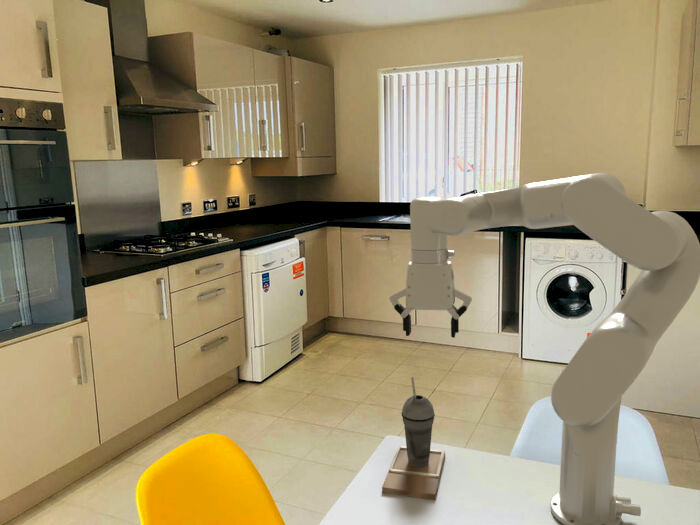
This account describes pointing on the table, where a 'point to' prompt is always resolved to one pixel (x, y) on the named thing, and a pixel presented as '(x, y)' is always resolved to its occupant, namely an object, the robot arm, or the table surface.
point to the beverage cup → (418, 428)
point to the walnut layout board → (414, 475)
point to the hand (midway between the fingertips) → (430, 334)
